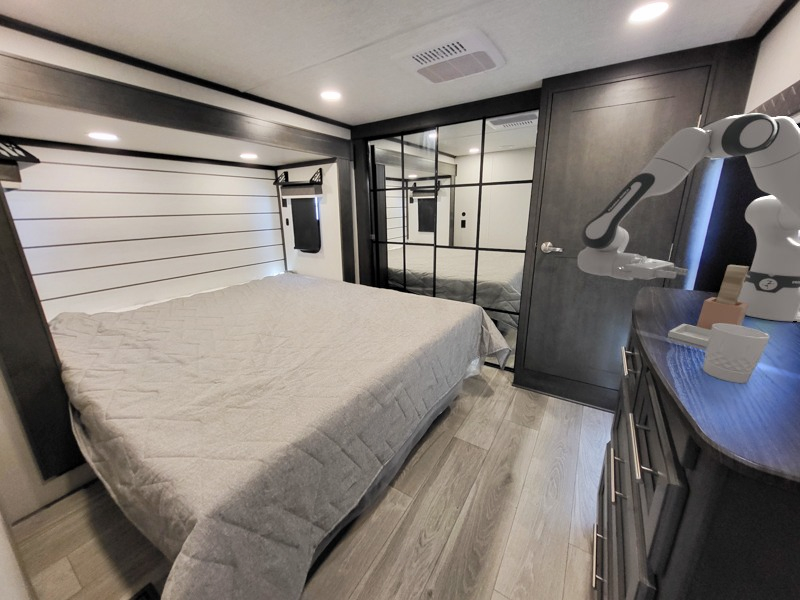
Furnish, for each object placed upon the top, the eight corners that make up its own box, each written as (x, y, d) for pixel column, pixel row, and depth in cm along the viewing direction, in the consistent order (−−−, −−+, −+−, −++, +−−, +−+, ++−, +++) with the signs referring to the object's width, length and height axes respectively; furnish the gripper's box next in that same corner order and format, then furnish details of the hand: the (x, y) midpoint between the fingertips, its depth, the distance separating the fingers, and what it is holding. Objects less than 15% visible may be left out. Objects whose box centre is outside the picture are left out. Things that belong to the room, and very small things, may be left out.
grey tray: (681, 331, 87) (683, 323, 86) (736, 345, 78) (739, 336, 78) (666, 339, 81) (669, 331, 81) (724, 355, 72) (727, 346, 72)
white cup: (764, 387, 59) (783, 339, 57) (716, 382, 61) (732, 335, 58) (731, 368, 67) (746, 325, 64) (689, 363, 68) (702, 321, 66)
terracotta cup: (703, 325, 92) (712, 297, 90) (738, 334, 86) (749, 303, 84) (695, 330, 88) (704, 300, 86) (731, 339, 82) (742, 307, 80)
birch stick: (711, 326, 89) (731, 264, 84) (727, 329, 86) (749, 266, 81) (707, 328, 87) (727, 265, 82) (724, 332, 85) (746, 267, 80)
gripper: (616, 259, 97) (671, 266, 86) (643, 255, 107) (695, 260, 96) (611, 279, 98) (665, 288, 87) (639, 273, 109) (689, 280, 98)
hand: (681, 273), depth 92 cm, fingers open, 8 cm apart
